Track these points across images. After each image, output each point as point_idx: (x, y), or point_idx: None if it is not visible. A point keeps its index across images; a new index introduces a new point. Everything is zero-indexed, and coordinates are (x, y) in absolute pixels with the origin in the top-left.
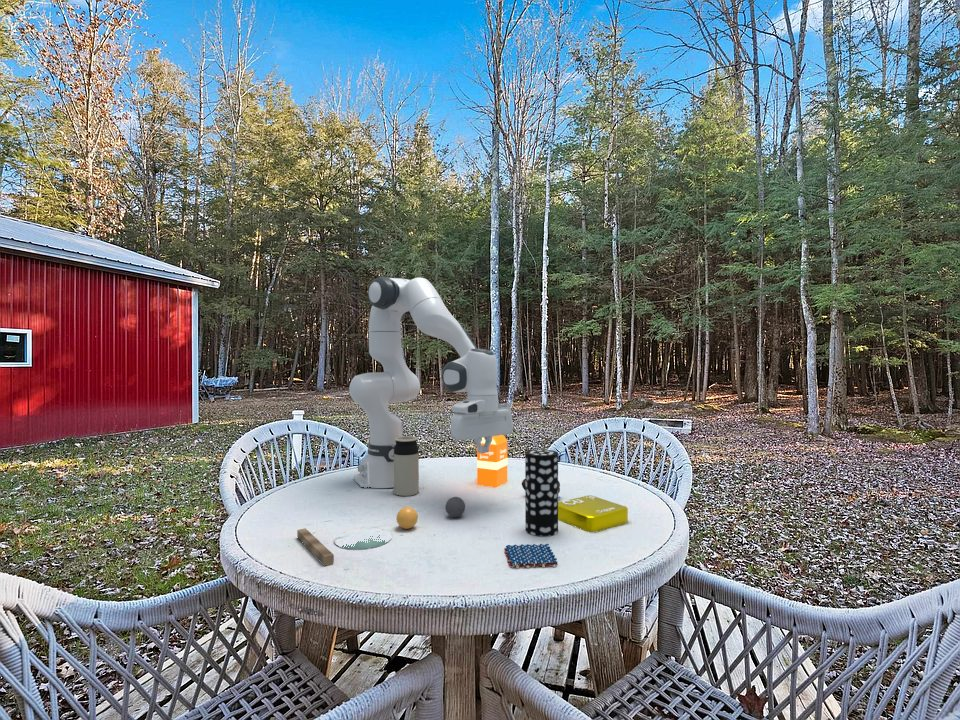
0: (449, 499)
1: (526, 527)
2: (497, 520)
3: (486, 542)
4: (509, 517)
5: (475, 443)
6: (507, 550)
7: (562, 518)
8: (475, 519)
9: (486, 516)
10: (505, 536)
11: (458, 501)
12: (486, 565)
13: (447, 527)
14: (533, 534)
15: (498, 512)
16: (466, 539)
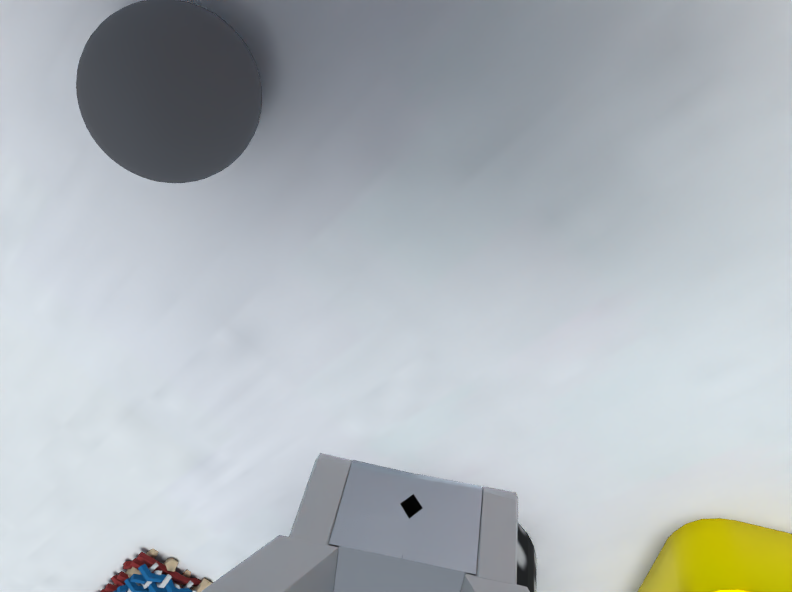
0: (89, 85)
1: None
2: (391, 328)
3: (130, 459)
4: (494, 348)
5: (209, 589)
6: (118, 589)
7: (650, 585)
8: (291, 215)
9: (394, 229)
10: (251, 480)
11: (141, 174)
12: (13, 561)
13: (53, 188)
14: None
15: (527, 235)
16: (65, 379)
